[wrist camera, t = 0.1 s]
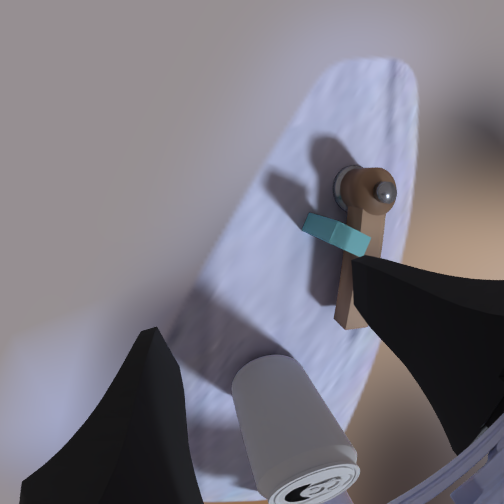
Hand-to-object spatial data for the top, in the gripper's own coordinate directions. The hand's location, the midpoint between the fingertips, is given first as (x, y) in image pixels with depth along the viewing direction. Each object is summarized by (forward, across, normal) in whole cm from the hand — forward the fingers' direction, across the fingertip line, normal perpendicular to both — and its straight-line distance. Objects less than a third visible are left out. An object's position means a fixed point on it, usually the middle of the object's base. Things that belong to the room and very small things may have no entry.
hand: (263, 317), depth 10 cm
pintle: (+11, -10, 0) cm, 15 cm away
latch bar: (+9, -9, +4) cm, 14 cm away
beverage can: (+9, 0, +14) cm, 16 cm away
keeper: (+10, -7, +2) cm, 13 cm away
